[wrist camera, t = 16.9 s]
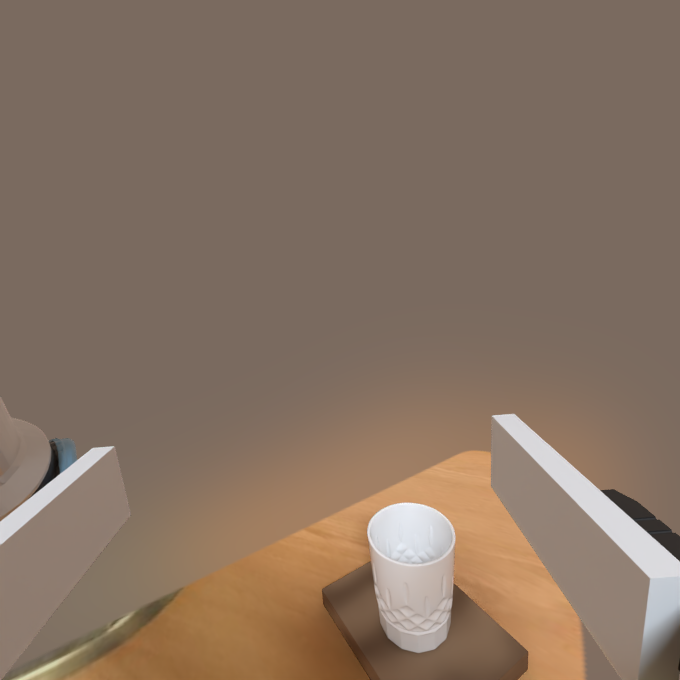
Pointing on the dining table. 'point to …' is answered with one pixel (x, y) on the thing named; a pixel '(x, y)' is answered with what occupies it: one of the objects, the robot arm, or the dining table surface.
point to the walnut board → (431, 666)
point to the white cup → (413, 574)
